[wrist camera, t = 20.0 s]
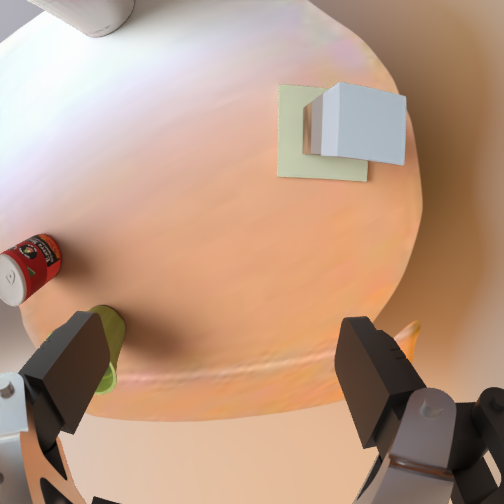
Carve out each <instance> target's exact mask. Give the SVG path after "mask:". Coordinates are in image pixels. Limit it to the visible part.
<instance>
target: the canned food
mask: <svg viewBox="0 0 504 504" xmlns="http://www.w3.org/2000/svg"><path fill="white" fill-rule="evenodd" d="M61 263H62V258H61V252H60V249H59V247H58V245H57V243H56V242H55V241H54V240H53V239H52V238H51V237H50V236H48V235H45V234H38V235H35V236H33V237H31V238H29V239H27V240H25V241H23V242H21V243H19V244H17V245H15V246H13V247H12V248H10V249H8V250H6V251H4V252H3V253H1V254H0V298H1V299H2V300H3V301H4V302H5V303H7V304H8V305H10V306H18V305H20V304H22V303H23V302H24V301H25V300H27V299H28V298H29V297H30V296H31V295H33V294H34V293H35V292H36V291H37V290H39V289H40V288H41V287H42V286H43V285H45V284H46V283H47V282H48V281H50V280H51V279H52V278H53V277H55V276H56V275H57V273H58V271H59V270H60V267H61Z"/></svg>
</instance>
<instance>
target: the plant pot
mask: <svg viewBox="0 0 504 504" xmlns="http://www.w3.org/2000/svg"><path fill="white" fill-rule="evenodd" d="M87 312H94V313H98V314H99V315H100V317H101V320H102V324H103V328H104V332H105V335H106V339H107V342H108V346H109V349H110V364H109V367H108V369H107V370H106V372H105V374H104V376H103V378H102V380H101V382H100V384H99V385H98V387H97V389H96V391H95V393H94V394H96V395H103V394H107V393H109V392H111V391H112V390H113V389H114V388H115V386H116V382H117V376H116V369H117V361H118V357H119V354H120V350H121V347H122V343H123V340H124V336H125V333H126V327H125V323H124V321H123V319H122V318H121V317H120V316H119V315H118V314H117V313H116V311H114V310H113V309H111V308H109V307H107V306H95V307H93V308H92V309H90V310H89V311H87ZM51 333H52V332H51ZM51 333H50V334H51ZM50 334H49V335H48V337H49V336H50ZM48 337H47V338H48Z"/></svg>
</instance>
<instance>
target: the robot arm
mask: <svg viewBox="0 0 504 504" xmlns="http://www.w3.org/2000/svg"><path fill="white" fill-rule="evenodd" d="M27 1H29V2H31V3H33V4H35V5H37V6H38V7H40V8H42V9H44V10H45V11H47V12H49V13H51V14H52V15H54V16H56V17H57V18H59V19H61V20H62V21H64V22H66V23H67V24H69V25H71V26H72V27H74V28H76V29H77V30H79V31H80V32H82V33H84V34H85V35H87V36H90V37H100V36H104V35H107V34H109V33H111V32H113V31H114V30H116V29H117V28H119V27H120V26H121V25H122V24H123V23H124V22H125V21H126V20H127V19H128V17H129V16H130V14H131V13H132V10H133V8H134V0H27ZM109 364H110V349H109V346H108V342H107V339H106V335H105V332H104V328H103V324H102V320H101V317H100V315H99V314H98V313H94V312H84V311H77V312H76V313H75V314H74V315H73V316H72V317H71V318H70V319H69V320H68V321H67V323H65V324H64V325H62V326H60V327H59V328H57V329H56V330H54V331H53V332H52V333H51V334H50V336H49V337H48V338H47V339H46V341H44V343H43V344H42V345H41V346H40V348H38V349H37V351H36V352H35V353H34V354H33V355H32V357H31V358H30V359H29V360H28V361H27V363H26V364H25V365H24V366H23V368H22V369H21V370H20V371H19V373H15V372H5V373H1V374H0V504H86V502H85V500H84V499H83V498H82V496H81V495H80V493H79V492H78V490H77V488H76V486H75V484H74V481H73V479H72V476H71V473H70V470H69V467H68V464H67V461H66V457H65V454H64V451H63V447H62V444H61V441H60V439H59V437H58V434H59V432H60V430H61V431H64V432H67V433H70V434H73V435H74V433H75V431H76V429H77V427H78V425H79V423H80V421H81V419H82V417H83V415H84V413H85V411H86V409H87V407H88V405H89V403H90V401H91V399H92V397H93V395H94V393H95V391H96V389H97V387H98V385H99V384H100V382H101V380H102V378H103V376H104V374H105V372H106V370H107V369H108V367H109ZM335 371H336V375H337V377H338V380H339V383H340V385H341V388H342V391H343V393H344V396H345V399H346V401H347V404H348V406H349V410H350V412H351V415H352V418H353V421H354V424H355V426H356V429H357V432H358V435H359V438H360V440H361V443H362V446H363V449H365V448H370V447H375V446H377V449H378V451H379V454H378V455H377V457H376V459H375V461H374V463H373V465H372V467H371V469H370V471H369V473H368V475H367V478H366V480H365V481H364V483H363V485H362V487H361V489H360V491H359V493H358V494H357V497H356V498H355V500H354V502H353V503H352V504H448V503H449V499H450V498H451V500H452V503H453V504H504V389H501V388H497V387H491V388H487V389H485V390H484V391H483V392H482V393H481V395H480V397H479V399H478V400H477V402H469V403H455V402H454V400H453V399H452V398H451V397H450V396H449V395H448V394H447V393H445V392H444V391H441V390H439V389H435V388H427V387H426V385H425V384H424V382H423V381H422V379H421V378H420V376H419V375H418V373H417V372H416V370H415V369H414V367H413V366H412V364H411V363H410V361H409V360H408V359H406V356H405V354H404V353H403V351H402V350H400V347H399V346H398V344H397V343H396V341H395V340H394V339H393V338H392V337H391V336H389V335H388V334H387V333H385V332H384V331H382V330H376V328H375V327H374V325H373V324H372V322H371V321H370V319H369V318H368V317H367V316H362V317H346V318H344V319H343V321H342V324H341V329H340V334H339V339H338V344H337V349H336V353H335ZM488 450H489V451H490V453H491V455H492V457H493V459H494V461H495V463H496V464H497V467H498V469H499V471H500V473H501V483H500V486H499V487H498V486H497V484H496V482H495V480H494V478H493V476H492V474H491V472H490V469H489V467H488V465H487V463H486V461H485V459H484V457H483V456H484V455H485V453H486V452H487V451H488ZM92 504H119V503H116V502H112V501H109V500H105V499H102V498H98V497H95V496H94V497H93V501H92Z"/></svg>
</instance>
